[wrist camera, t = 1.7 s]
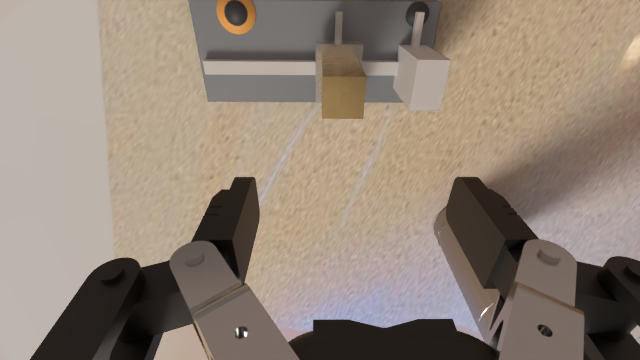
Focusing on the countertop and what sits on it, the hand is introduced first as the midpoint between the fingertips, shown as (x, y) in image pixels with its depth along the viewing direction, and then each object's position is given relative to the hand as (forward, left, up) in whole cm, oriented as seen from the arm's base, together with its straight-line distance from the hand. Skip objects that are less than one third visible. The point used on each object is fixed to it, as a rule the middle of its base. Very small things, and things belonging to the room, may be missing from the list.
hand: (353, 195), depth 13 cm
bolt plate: (+2, -1, -22) cm, 22 cm away
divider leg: (0, -2, -20) cm, 20 cm away
